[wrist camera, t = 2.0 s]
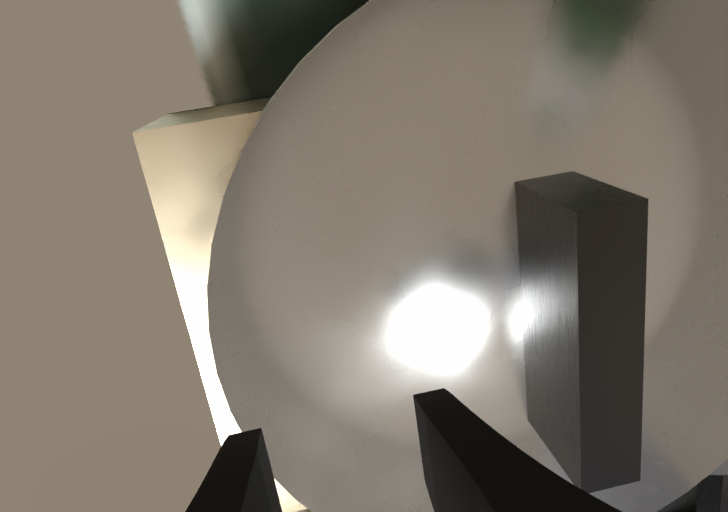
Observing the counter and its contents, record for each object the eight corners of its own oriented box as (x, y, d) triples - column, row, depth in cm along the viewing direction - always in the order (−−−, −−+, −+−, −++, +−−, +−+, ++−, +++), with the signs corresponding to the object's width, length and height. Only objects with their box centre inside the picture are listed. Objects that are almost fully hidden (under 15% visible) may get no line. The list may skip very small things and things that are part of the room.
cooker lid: (781, 469, 20) (899, 564, 16) (283, 592, 18) (287, 730, 14) (859, -107, 14) (1076, -168, 10) (125, -3, 12) (60, -31, 8)
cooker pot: (856, 404, 27) (980, 477, 22) (279, 542, 24) (281, 657, 20) (968, -210, 19) (1203, -301, 14) (112, -103, 16) (46, -171, 11)
